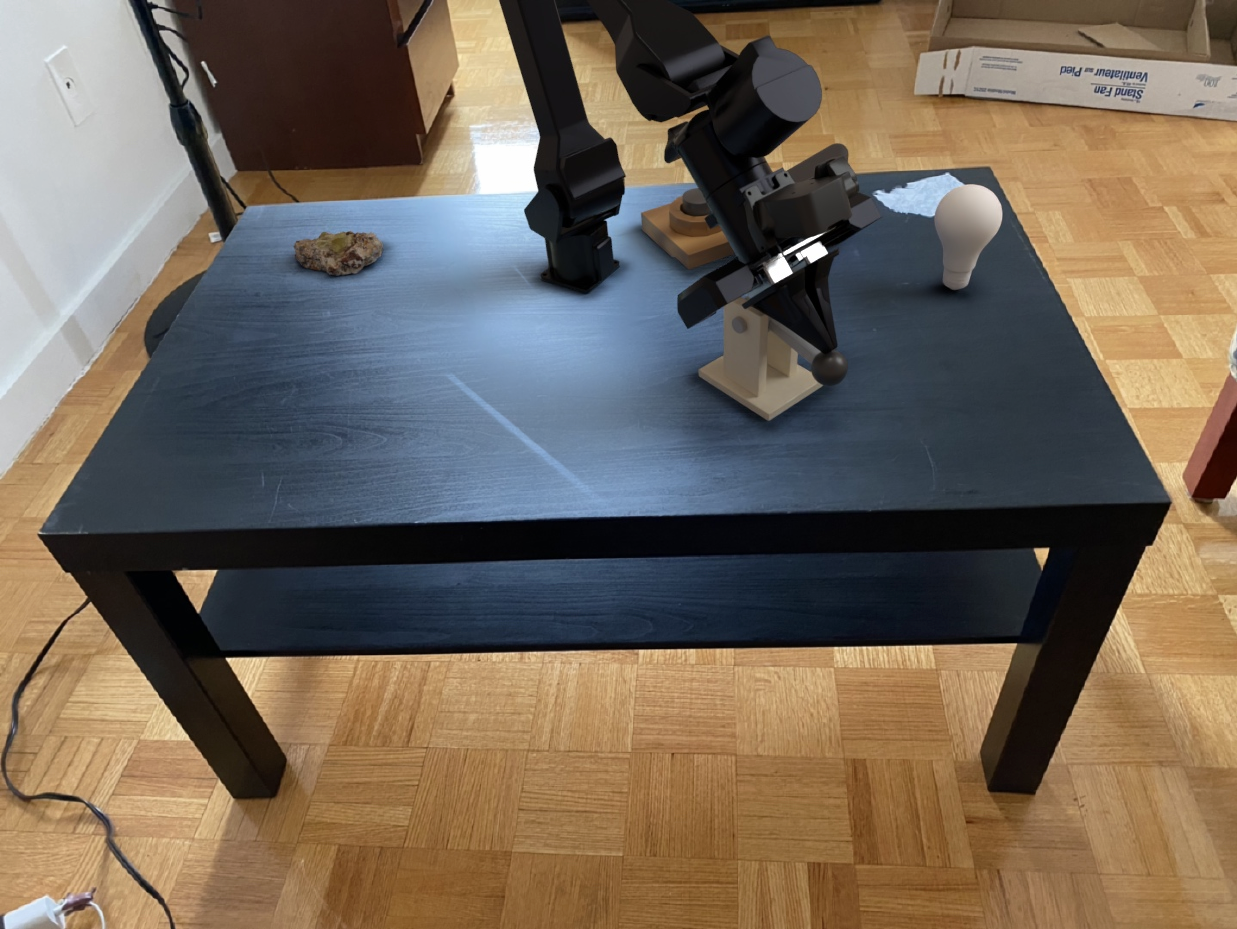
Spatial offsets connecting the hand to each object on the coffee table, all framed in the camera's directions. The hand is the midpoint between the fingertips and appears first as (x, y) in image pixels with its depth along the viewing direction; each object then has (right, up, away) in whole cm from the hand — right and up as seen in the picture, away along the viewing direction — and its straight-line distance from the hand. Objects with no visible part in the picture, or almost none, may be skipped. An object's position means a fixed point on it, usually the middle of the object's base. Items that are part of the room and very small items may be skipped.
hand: (831, 350), depth 78 cm
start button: (-8, +19, +27) cm, 34 cm away
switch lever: (-2, 0, +4) cm, 5 cm away
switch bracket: (-4, -2, +10) cm, 11 cm away
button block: (-8, +16, +30) cm, 35 cm away
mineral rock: (-49, +14, +33) cm, 61 cm away
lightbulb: (+17, +8, +19) cm, 27 cm away
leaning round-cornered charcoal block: (+2, +14, +27) cm, 31 cm away
